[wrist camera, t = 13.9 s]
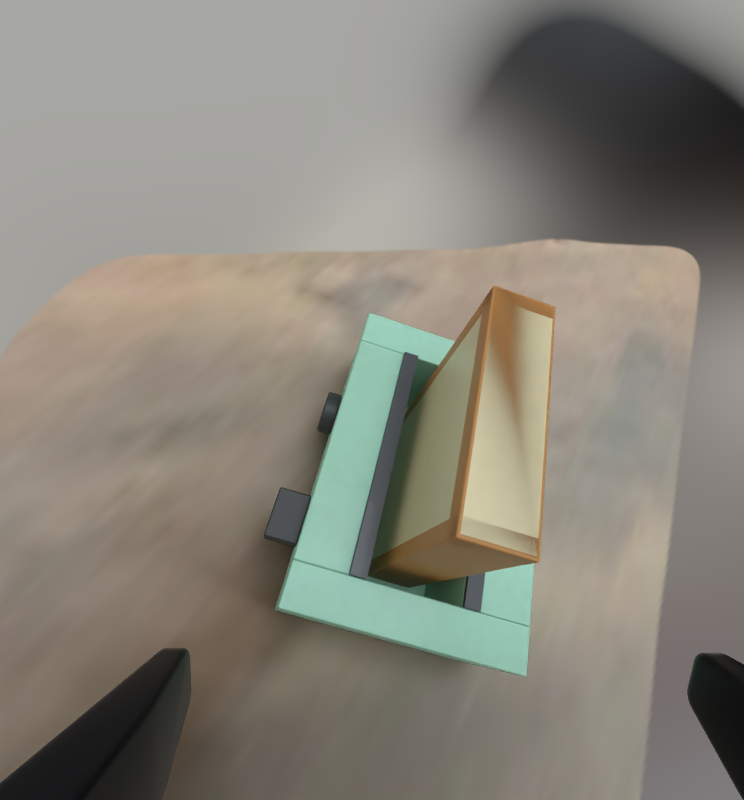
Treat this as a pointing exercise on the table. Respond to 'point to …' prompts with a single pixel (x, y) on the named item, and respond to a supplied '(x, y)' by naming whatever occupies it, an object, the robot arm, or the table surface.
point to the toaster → (361, 514)
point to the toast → (473, 452)
